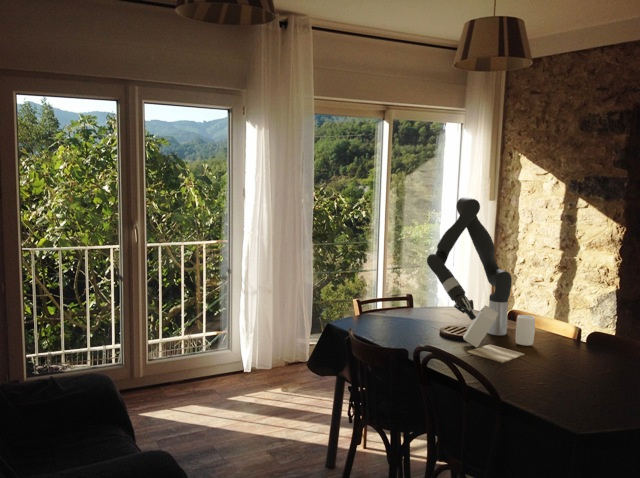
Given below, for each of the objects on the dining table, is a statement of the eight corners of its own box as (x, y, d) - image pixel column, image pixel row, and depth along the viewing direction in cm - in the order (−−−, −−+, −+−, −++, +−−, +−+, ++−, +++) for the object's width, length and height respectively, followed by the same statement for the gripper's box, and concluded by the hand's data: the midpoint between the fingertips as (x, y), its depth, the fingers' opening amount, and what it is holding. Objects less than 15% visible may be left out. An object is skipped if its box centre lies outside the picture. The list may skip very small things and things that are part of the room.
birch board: (489, 345, 269) (489, 344, 269) (524, 355, 255) (524, 353, 255) (467, 352, 257) (467, 351, 257) (502, 362, 244) (502, 361, 244)
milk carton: (476, 348, 262) (499, 314, 260) (463, 339, 263) (485, 306, 261) (475, 345, 269) (497, 312, 267) (462, 336, 270) (484, 303, 268)
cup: (534, 344, 272) (536, 316, 271) (532, 349, 265) (534, 319, 263) (515, 342, 276) (517, 313, 274) (513, 346, 268) (515, 317, 267)
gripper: (450, 285, 264) (470, 316, 256) (466, 282, 273) (487, 312, 265) (440, 294, 269) (460, 325, 261) (457, 291, 277) (476, 321, 270)
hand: (473, 318), depth 263 cm, fingers closed
